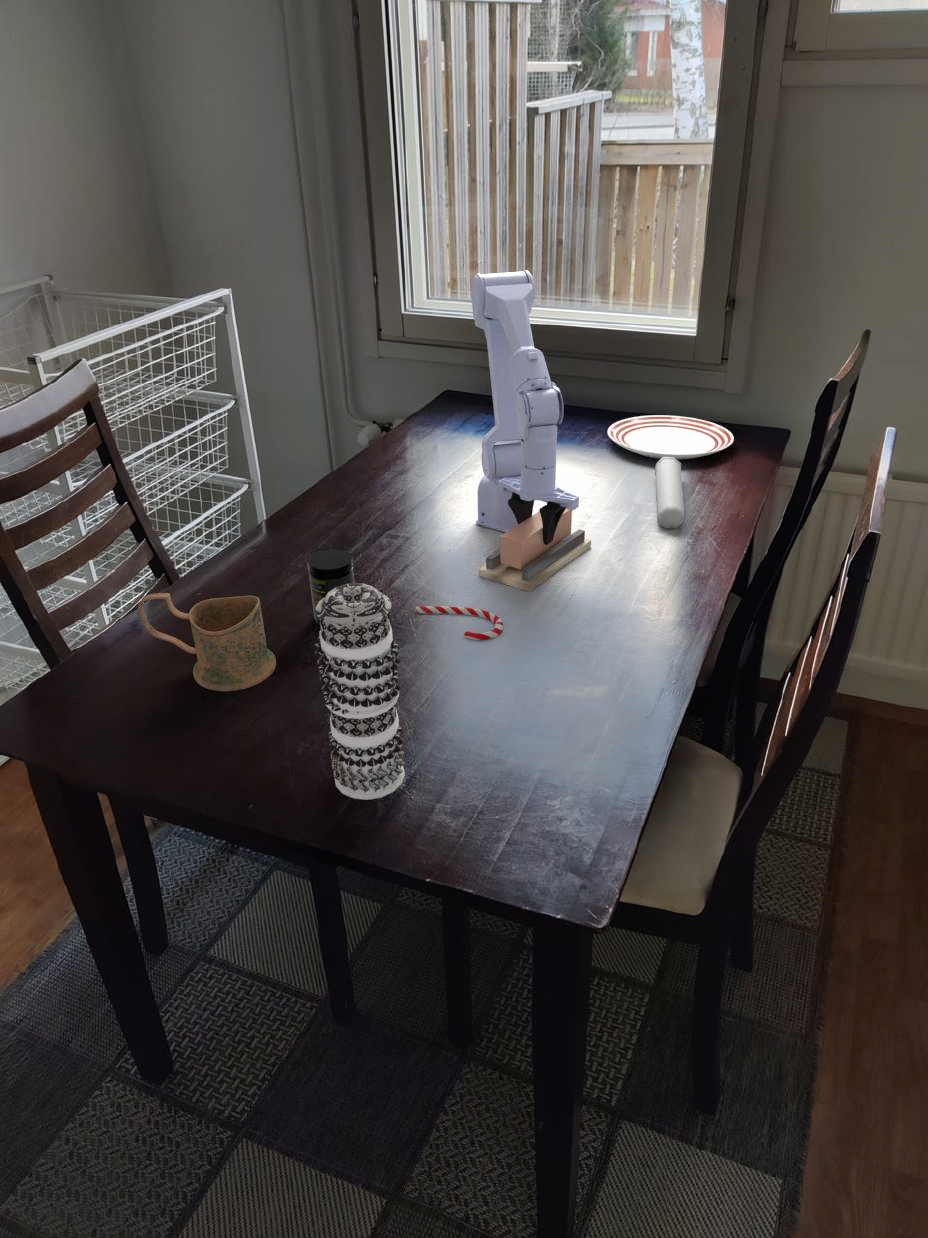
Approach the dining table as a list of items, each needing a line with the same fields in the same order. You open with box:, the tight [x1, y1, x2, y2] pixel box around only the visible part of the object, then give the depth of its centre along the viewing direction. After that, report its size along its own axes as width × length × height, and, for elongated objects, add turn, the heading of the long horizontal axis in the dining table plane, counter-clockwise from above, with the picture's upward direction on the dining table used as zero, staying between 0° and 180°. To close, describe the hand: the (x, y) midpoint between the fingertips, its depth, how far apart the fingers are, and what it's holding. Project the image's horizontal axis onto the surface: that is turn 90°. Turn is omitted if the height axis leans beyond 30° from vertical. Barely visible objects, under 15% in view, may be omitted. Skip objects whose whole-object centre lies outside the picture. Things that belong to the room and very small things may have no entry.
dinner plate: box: [607, 414, 735, 461], centre depth 204 cm, size 27×27×3 cm
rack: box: [478, 528, 592, 592], centre depth 157 cm, size 10×20×3 cm, turn 143°
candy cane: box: [414, 605, 504, 641], centre depth 141 cm, size 8×1×15 cm
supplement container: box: [306, 548, 355, 626], centre depth 140 cm, size 7×7×10 cm
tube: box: [654, 457, 685, 529], centre depth 176 cm, size 5×5×25 cm
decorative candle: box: [314, 582, 406, 801], centre depth 104 cm, size 9×9×25 cm
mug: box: [138, 592, 277, 692], centre depth 128 cm, size 12×18×12 cm, turn 88°
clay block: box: [499, 508, 573, 569], centre depth 156 cm, size 4×16×5 cm, turn 144°
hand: (536, 538), depth 156 cm, fingers closed on clay block, 4 cm apart
